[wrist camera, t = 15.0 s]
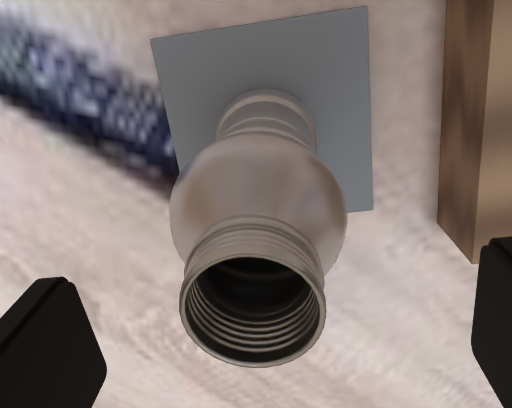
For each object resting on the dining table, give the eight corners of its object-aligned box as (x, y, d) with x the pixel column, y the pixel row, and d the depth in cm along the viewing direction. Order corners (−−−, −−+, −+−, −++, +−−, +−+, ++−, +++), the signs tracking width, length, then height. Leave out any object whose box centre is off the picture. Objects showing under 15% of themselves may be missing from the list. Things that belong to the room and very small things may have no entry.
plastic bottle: (292, 187, 30) (320, 436, 12) (206, 153, 29) (91, 361, 11) (331, 106, 27) (445, 258, 9) (238, 67, 27) (159, 145, 8)
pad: (152, 39, 27) (149, 39, 26) (365, 6, 25) (367, 5, 25) (193, 225, 32) (192, 229, 32) (371, 206, 31) (372, 209, 30)
